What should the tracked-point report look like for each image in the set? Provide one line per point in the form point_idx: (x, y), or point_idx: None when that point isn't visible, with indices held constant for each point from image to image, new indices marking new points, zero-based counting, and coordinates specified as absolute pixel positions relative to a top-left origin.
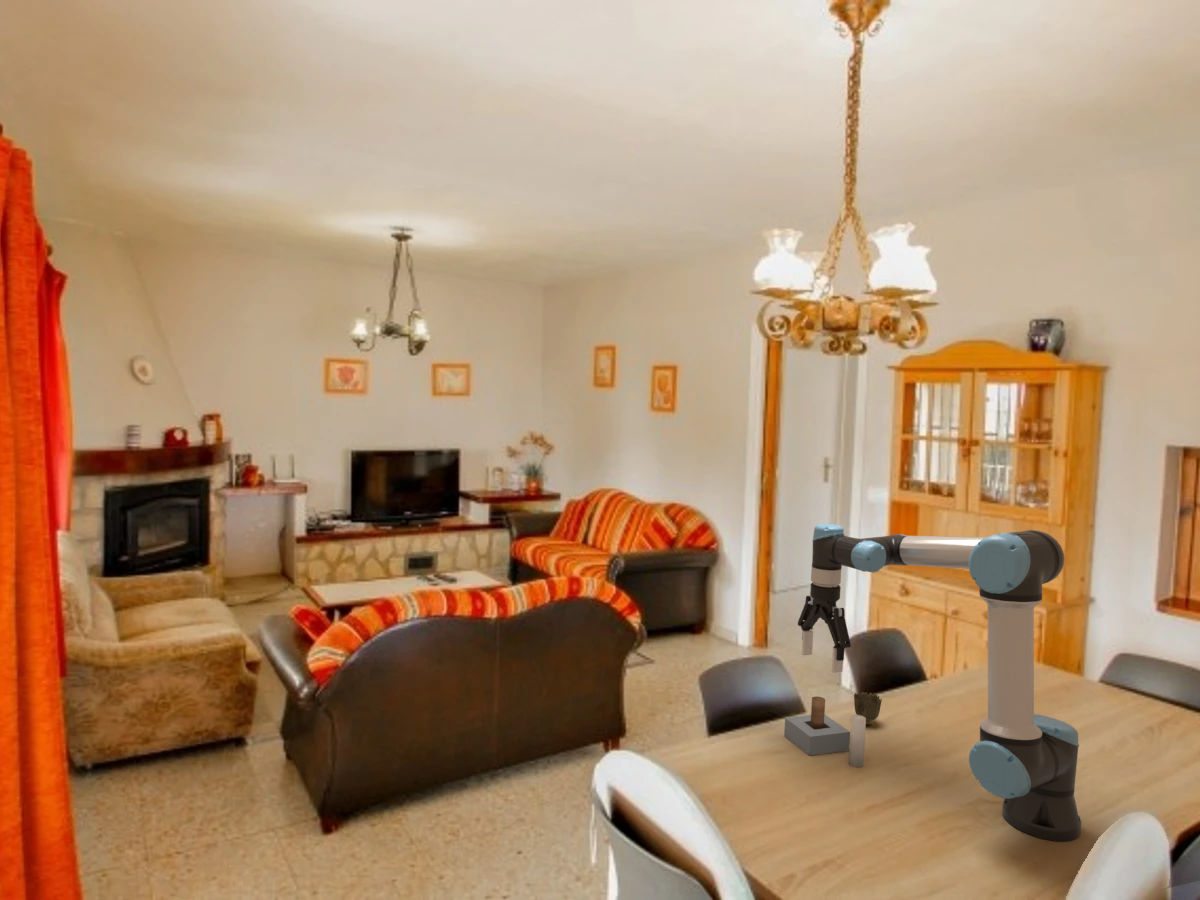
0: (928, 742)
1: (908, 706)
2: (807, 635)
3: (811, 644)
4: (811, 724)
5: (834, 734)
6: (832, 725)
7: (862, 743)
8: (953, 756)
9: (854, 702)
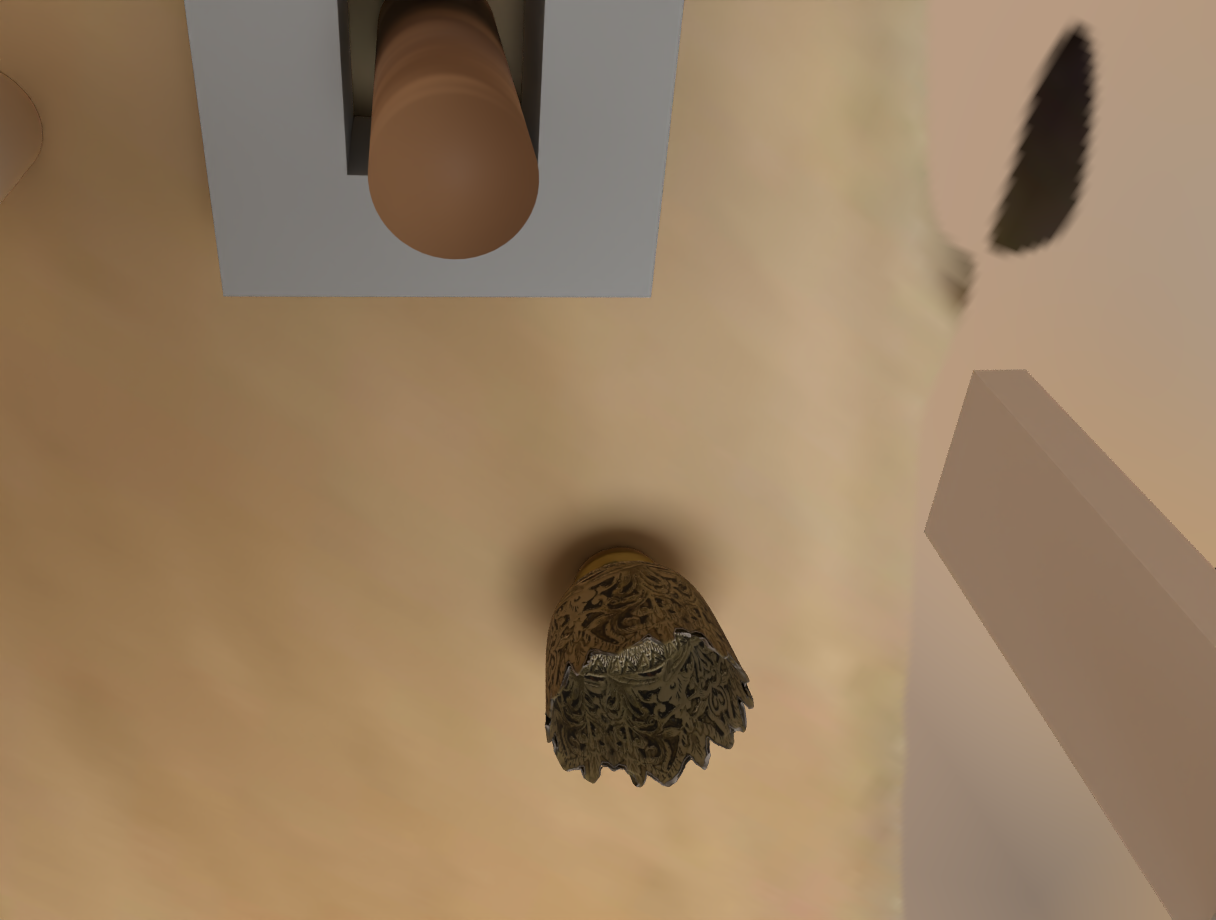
0: (275, 747)
1: (725, 866)
2: (1194, 741)
3: (1022, 654)
4: (448, 14)
5: (200, 119)
6: None
7: None
8: (69, 770)
9: (693, 614)
